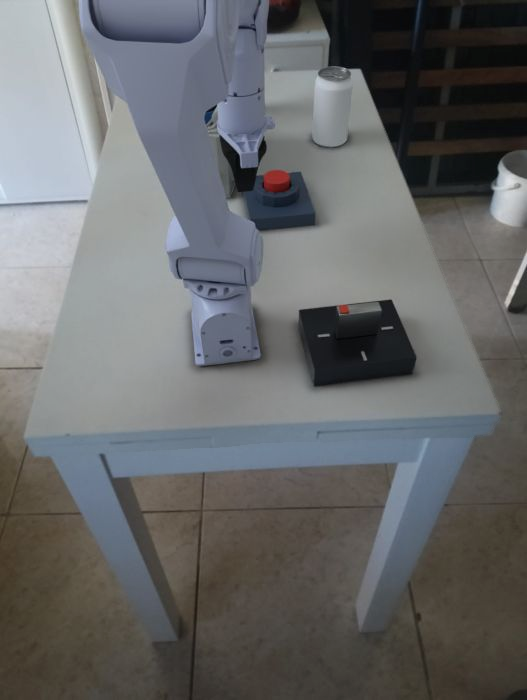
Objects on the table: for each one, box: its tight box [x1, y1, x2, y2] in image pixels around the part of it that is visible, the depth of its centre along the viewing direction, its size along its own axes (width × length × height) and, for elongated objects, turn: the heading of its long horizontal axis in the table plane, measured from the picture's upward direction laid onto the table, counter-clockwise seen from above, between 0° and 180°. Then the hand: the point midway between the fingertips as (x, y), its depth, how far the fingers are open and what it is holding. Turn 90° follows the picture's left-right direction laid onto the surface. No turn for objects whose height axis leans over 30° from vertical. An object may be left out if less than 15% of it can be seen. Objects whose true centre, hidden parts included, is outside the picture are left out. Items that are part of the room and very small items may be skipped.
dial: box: [334, 301, 382, 339], centre depth 67 cm, size 5×2×4 cm, turn 98°
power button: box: [263, 169, 290, 193], centre depth 88 cm, size 4×4×2 cm
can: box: [311, 65, 353, 149], centre depth 101 cm, size 6×6×12 cm
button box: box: [241, 171, 316, 232], centre depth 90 cm, size 12×10×4 cm
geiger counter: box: [206, 107, 236, 200], centre depth 96 cm, size 14×6×25 cm
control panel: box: [297, 299, 417, 387], centre depth 70 cm, size 12×10×3 cm
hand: (244, 188), depth 76 cm, fingers closed
